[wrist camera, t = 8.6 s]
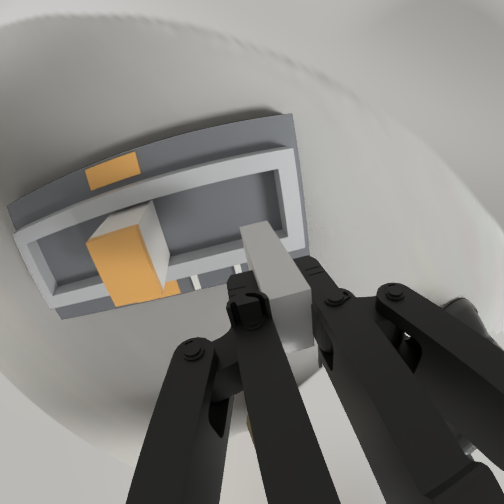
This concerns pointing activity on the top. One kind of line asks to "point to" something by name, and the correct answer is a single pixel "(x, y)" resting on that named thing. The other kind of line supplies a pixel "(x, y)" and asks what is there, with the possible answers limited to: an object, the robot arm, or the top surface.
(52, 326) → the top surface
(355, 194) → the top surface
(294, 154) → the console board
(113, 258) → the fader tab
